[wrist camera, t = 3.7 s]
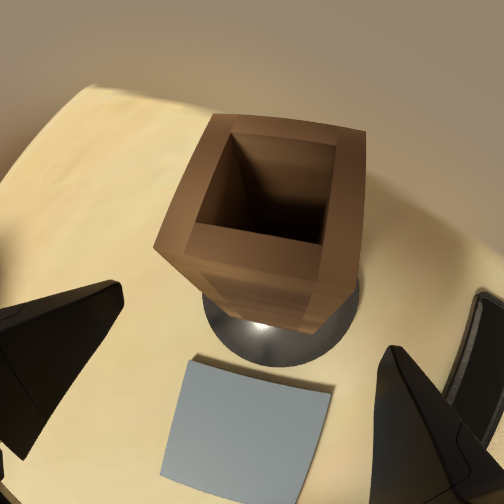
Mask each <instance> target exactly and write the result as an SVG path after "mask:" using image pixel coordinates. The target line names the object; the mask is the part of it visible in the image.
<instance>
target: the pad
mask: <svg viewBox="0 0 504 504" xmlns="http://www.w3.org/2000/svg"><path fill="white" fill-rule="evenodd" d="M330 397H331V393H326V392H320V391H314V390H309V389H303V388H298V387H293V386H288V385H283V384H279V383H274V382H270V381H266V380H261V379H257V378H253V377H249V376H245V375H241V374H238V373H234V372H230V371H227V370H223V369H220V368H216V367H213V366H210V365H206V364H203V363H200V362H197V361H194V360H189V361H188V365H187V368H186V372H185V376H184V379H183V383H182V387H181V391H180V395H179V398H178V402H177V406H176V410H175V414H174V418H173V422H172V426H171V430H170V434H169V438H168V442H167V446H166V450H165V455H164V459H163V463H162V467H161V472H160V475H161V476H163V477H166V478H168V479H170V480H173V481H175V482H178V483H180V484H183V485H186V486H188V487H191V488H194V489H197V490H199V491H202V492H205V493H208V494H212V495H215V496H218V497H221V498H225V499H228V500H232V501H236V502H240V503H244V504H295V502H296V500H297V497H298V495H299V492H300V490H301V487H302V485H303V482H304V479H305V477H306V474H307V471H308V469H309V466H310V463H311V460H312V457H313V454H314V451H315V448H316V445H317V442H318V439H319V436H320V432H321V429H322V426H323V423H324V419H325V416H326V412H327V409H328V405H329V401H330Z"/></svg>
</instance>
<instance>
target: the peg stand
mask: <svg viewBox="0 0 504 504" xmlns="http://www.w3.org/2000/svg"><path fill="white" fill-rule="evenodd" d="M202 299H203V305H204V310H205V314H206V317H207V320H208V322H209V324H210V326H211V328H212V330H213V331H214V333H215V334H216V336H217V337H218V338H219V339H220V341H221V342H222V343H223V344H224V345H225V346H226V347H227V348H228V349H230V350H231V351H232V352H233V353H235V354H237V355H238V356H240V357H241V358H243V359H245V360H248V361H250V362H252V363H256V364H259V365H263V366H269V367H291V366H297V365H301V364H305V363H307V362H310V361H312V360H315V359H317V358H318V357H320V356H322V355H324V354H325V353H326V352H328V351H329V350H330V349H332V348H333V347H334V346H335V345H336V344H337V343H338V342H339V341H340V340H341V339H342V337H343V336H344V335H345V333H346V332H347V330H348V329H349V327H350V325H351V323H352V321H353V319H354V316H355V313H356V310H357V305H358V300H359V281H358V276H357V281H356V289H355V290H354V292H353V293H352V294H351V295H350V296H349V297H348V298H347V299H346V300H345V301H344V303H343V304H342V305H341V306H340V307H339V308H338V309H337V310H336V311H335V312H334V313H333V314H332V315H331V316H330V317H329V318H328V319H327V320H326V322H325V323H324V324H323V325H322V326H321V327H320V328H319V329H318V330H317V331H316V332H315V333H314V334H313V335H311V334H306V333H301V332H296V331H291V330H286V329H282V328H277V327H272V326H268V325H264V324H259V323H255V322H251V321H246V320H242V319H238V318H234V317H230V316H229V315H228V314H227V313H226V312H225V311H223V310H222V309H221V308H220V307H219V306H217V305H216V304H215V303H214V302H213V301H212V300H210V299H209V298H208V297H207V296H206V295H205V294H203V293H202Z"/></svg>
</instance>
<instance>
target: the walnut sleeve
mask: <svg viewBox="0 0 504 504" xmlns="http://www.w3.org/2000/svg"><path fill="white" fill-rule="evenodd" d="M365 176H366V132H365V131H360V130H355V129H350V128H345V127H340V126H334V125H328V124H322V123H315V122H309V121H302V120H293V119H286V118H276V117H265V116H253V115H239V114H214V113H213V115H212V117H211V119H210V121H209V123H208V125H207V127H206V129H205V131H204V133H203V135H202V137H201V139H200V141H199V143H198V145H197V147H196V149H195V151H194V153H193V155H192V157H191V159H190V161H189V163H188V165H187V168H186V170H185V172H184V174H183V176H182V179H181V181H180V183H179V185H178V188H177V190H176V192H175V194H174V197H173V199H172V201H171V204H170V206H169V208H168V211H167V213H166V216H165V218H164V221H163V223H162V226H161V228H160V231H159V233H158V236H157V238H156V241H155V244H154V246H153V248H154V249H155V250H156V251H157V252H158V253H159V254H160V255H161V256H162V257H163V258H164V259H165V260H167V261H168V262H169V263H170V264H171V265H172V266H173V267H174V268H175V269H176V270H178V271H179V272H180V273H181V274H182V275H183V276H184V277H185V278H186V279H188V280H189V281H190V282H191V283H192V284H193V285H194V286H195V287H197V288H198V289H199V290H200V291H201V292H202V293H203V294H205V295H206V296H207V297H208V298H209V299H210V300H212V301H213V302H214V303H215V304H216V305H217V306H219V307H220V308H221V309H222V310H223V311H225V312H226V313H227V314H228V315H229V316H230V317H234V318H238V319H242V320H246V321H251V322H255V323H259V324H264V325H268V326H272V327H277V328H282V329H286V330H291V331H296V332H301V333H306V334H311V335H313V334H314V333H315V332H316V331H317V330H318V329H319V328H320V327H321V326H322V325H323V324H324V323H325V322H326V320H327V319H328V318H329V317H330V316H331V315H332V314H333V313H334V312H335V311H336V310H337V309H338V308H339V307H340V306H341V305H342V304H343V303H344V301H345V300H346V299H347V298H348V297H349V296H350V295H351V294H352V293H353V292H354V290H355V289H356V281H357V274H358V266H359V258H360V249H361V239H362V227H363V215H364V199H365Z"/></svg>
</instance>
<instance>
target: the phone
mask: <svg viewBox="0 0 504 504" xmlns="http://www.w3.org/2000/svg"><path fill="white" fill-rule="evenodd" d="M442 395H443V397H444V398H445V399H446V400H447V402H448V403H449V404H450V405H451V407H452V408H453V409H454V410H455V412H456V413H457V414H458V416H459V417H460V418H461V421H463V422H464V423H465V425H466V426H467V427H468V428H469V430H470V431H471V432H472V434H473V435H474V436H475V437H476V439H477V440H478V441H479V442H480V443H481V445H482V446H483V447H484V448H485V449H487V447H488V445H489V443H490V441H491V439H492V437H493V435H494V433H495V431H496V428H497V426H498V424H499V421H500V419H501V417H502V414H503V412H504V302H502V301H501V300H499V299H498V298H496V297H494V296H493V295H491V294H490V293H488V292H481V293H479V294H477V295H476V296H475V297H474V298H473V301H472V305H471V309H470V313H469V317H468V320H467V324H466V327H465V331H464V334H463V337H462V341H461V344H460V347H459V350H458V353H457V356H456V358H455V361H454V364H453V367H452V369H451V372H450V374H449V377H448V379H447V382H446V384H445V387H444V389H443V391H442Z"/></svg>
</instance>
